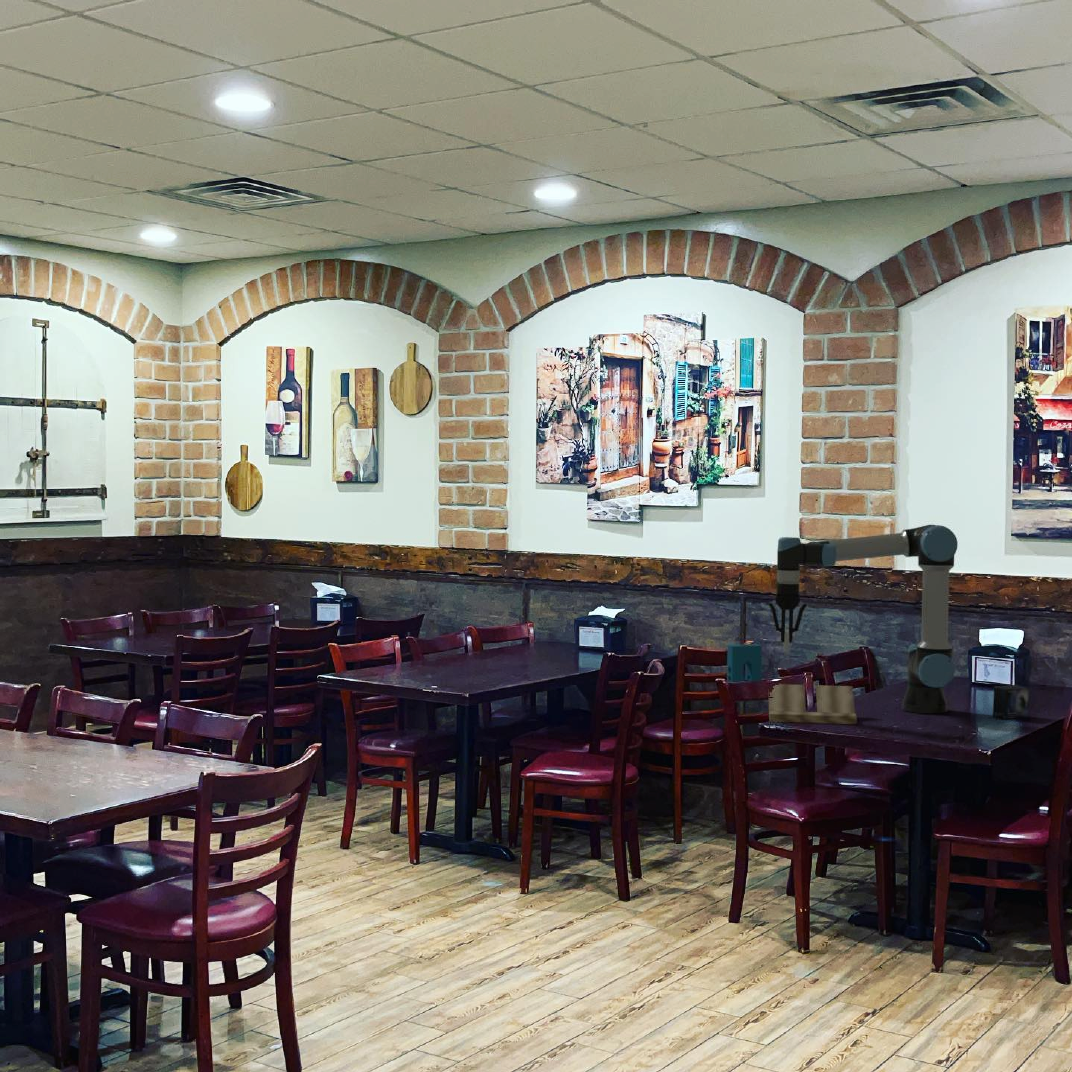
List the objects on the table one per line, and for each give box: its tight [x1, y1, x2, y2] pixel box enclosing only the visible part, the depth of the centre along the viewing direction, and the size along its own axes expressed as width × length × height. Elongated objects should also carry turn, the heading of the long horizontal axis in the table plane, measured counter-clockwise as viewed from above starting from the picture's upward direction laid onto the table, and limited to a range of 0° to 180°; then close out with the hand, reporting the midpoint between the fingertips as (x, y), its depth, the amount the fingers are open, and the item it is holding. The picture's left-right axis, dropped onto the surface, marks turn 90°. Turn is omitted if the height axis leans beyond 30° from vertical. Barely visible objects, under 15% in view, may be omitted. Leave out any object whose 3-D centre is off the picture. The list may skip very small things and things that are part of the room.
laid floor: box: [768, 710, 858, 725], centre depth 449 cm, size 28×6×2 cm, turn 82°
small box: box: [992, 684, 1030, 720], centre depth 459 cm, size 11×6×10 cm, turn 117°
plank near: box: [815, 684, 856, 714], centre depth 457 cm, size 12×13×2 cm
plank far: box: [768, 683, 807, 712], centre depth 459 cm, size 12×13×2 cm
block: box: [726, 643, 763, 703], centre depth 490 cm, size 12×5×20 cm, turn 110°
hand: (786, 651), depth 462 cm, fingers closed
